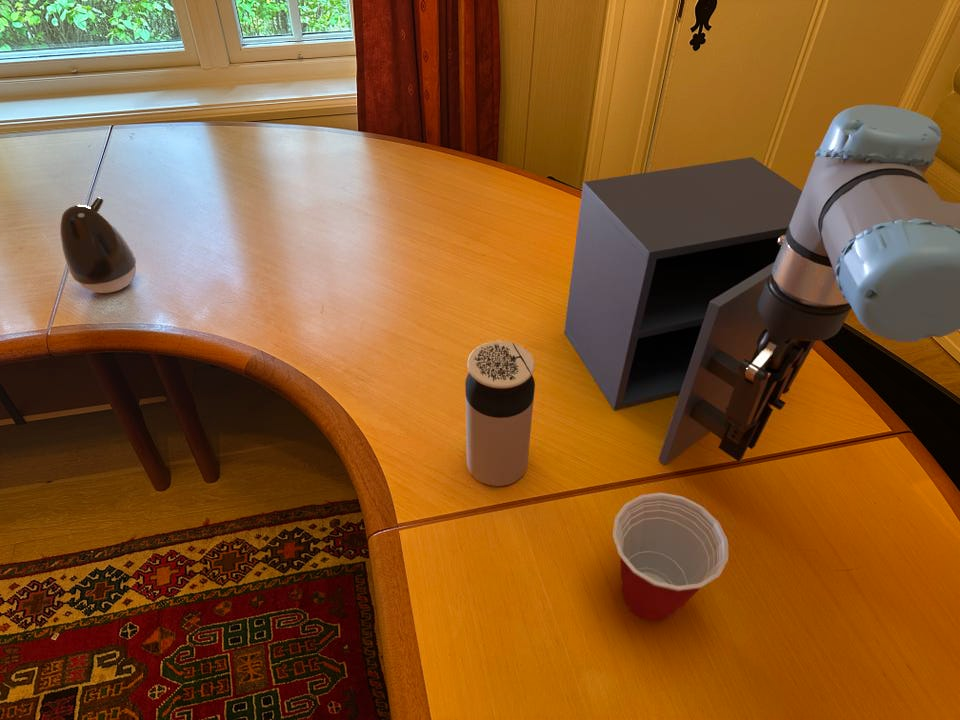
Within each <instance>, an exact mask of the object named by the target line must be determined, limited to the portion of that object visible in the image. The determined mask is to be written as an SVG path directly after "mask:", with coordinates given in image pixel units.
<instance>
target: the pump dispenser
mask: <svg viewBox="0 0 960 720" xmlns="http://www.w3.org/2000/svg"><path fill="white" fill-rule="evenodd" d="M103 199H104V198H102V197H96V198H95V200H94V201H93V202H92V204H91V205H90V206H87V205H83V204H81V205H80V204H77V205H76V204H75V205H72V206H70V207H68V208H67V209H66V210H64V212H63V213H62V216H61V219H60V224H59V225H60V226H59V231H60V243H61V249H62V254H63V257H64V260H65V263H66V265H67V268H68V271H69V273H70V275H71V277H72V278H73V280H74V281H76V282H78V283H79V284H80V286H82V287H84V288H85V289H87V290H88V291H91V292H94V293H100V294H109V293H113V292H118V291H120V290H122V289H124V288H125V287H127V286H129V284H131V283H132V281H133V280H134V278H135V276H136V271H137V265H136V264H137V258H136V256H135V253H134V252H133V250H132V248H131V247H130V245H129V244H128V242H127V241H126V240H125V238H124V237H123V236H122V234H121V233H120V232H119V230H118V229H117V228H116V227H115V226H114V225H113V224H112V223H111V222H110V221H109V220H108V219H107V218H106V217H105V216H104V215H102V214H101V213H100V209H101V208H102V205H103V204H104V200H103Z"/></svg>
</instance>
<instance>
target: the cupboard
mask: <svg viewBox="0 0 960 720" xmlns="http://www.w3.org/2000/svg"><path fill="white" fill-rule="evenodd" d="M802 191H803V189H800V188H799V187H797V186H796V185H795V184H793V183H791V182H790V181H789V180H787V179H786V178H784V177H783V176H782V175H779V174H778V173H777V172H775V171H774V170H772V169H771V168H769V167H768V166H766V165H765V164H763V163H762V162H760V161H759V160H758V159H756V158H754V157H753V156H749V157H744V158H743V157H742V158H736V159H729V160H722V161H717V162H709V163H702V164H696V165H688V166H681V167H676V168H675V167H674V168H669V169H661V170H654V171H648V172H641V173H634V174H627V175H620V176H615V177H607V178H600V179H599V178H598V179H594V180H593V179H592V180H587V181H583V183H582V190H581V198H580V205H579V211H578V212H579V213H578V221H577V227H576V228H577V229H576V237H575V245H574V253H573V260H572V266H571V268H572V269H571V275H570V276H571V277H570V283H569V291H568V299H567V307H566V315H565V322H564V323H565V324H564V332H563V333H564V335H565V336H566V338H567V339H568V341H569V342H570V344H571V346H572V347H573V349H574V350H575V352H576V354H577V355H578V357H579V359H581V361H582V363H583V364H584V366H585V368H586V369H587V371H588V373H589V374H590V375H591V377H592V378H593V380H594V382H595V383H596V385H597V386H598V388H599V390H600V391H601V393H602V394H603V396H604V397H605V399H606V401H607V402H608V404H609V405H610V407H611V408H612V410H613V411H617V410H622V409H625V408H626V409H627V408H630V407H634V406H638V405H642V404H647V403H650V402H655V401H660V400H664V399H666V398H668V399H669V398H671V397H675V396H679V395H680V392H681V389H682V386H683V383H684V380H685V377H686V374H687V371H688V367H689V364H690V361H691V358H692V355H693V352H694V349H695V346H696V343H697V340H698V337H699V334H700V331H701V328H702V325H703V322H704V319H705V316H706V313H707V309H708V306H709V303H710V301H711V300H713V299H715V298H716V297H718V296H720V295H721V294H723V293H724V292H726V291H728V290H729V289H731V288H733V287H734V286H736V285H738V284H739V283H741V282H742V281H744V280H746V279H747V278H749V277H751V276H752V275H754V274H756V273H757V272H759V271H760V270H762V269H764V268H765V267H767V266H769V265H770V264H772V263H773V262H775V260H776V258H777V255H778V253H779V251H780V249H781V245H779V244H778V242H777V241H778V238H780V237H781V236H782V235H786V232H787V230H788V227H789V224H790V222H791V219H792V217H793V214H794V212H795V209H796V207H797V204H798V201H799V199H800V196H801V194H802Z"/></svg>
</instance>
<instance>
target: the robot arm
mask: <svg viewBox="0 0 960 720" xmlns="http://www.w3.org/2000/svg"><path fill="white" fill-rule="evenodd" d="M941 140H942V130H941V128H940V126H939V125H938V124H937V123H936V122H935V121H934V120H932V119H931V118H929V117H928V116H926V115H924V114H921V113H920V112H916V111H913V110H910V109H906V108H903V107H897V106H894V105H893V106H891V105H882V104H861V105H855V106H851V107H848V108H846V109H844V110H842V111H840V112H839V113H838V114H837V115H835V117H834V118H833V120H832V121H831V122H830V125H829V127H828V130H827V131H826V134H825V135H824V137H823V140H822V142H821V144H820V146H819V147H818V149H817V150H816V151H815V153H814V157H815V158H814V160H813V162H812V166H811V168H810V171H809V174H808V176H807V179H806V181H805V184H804V187H803V189H802V194H801V196H800V199H799V201H798V204H797V207H796V209H795V212H794V214H793V217H792V219H791V222H790V224H789V227H788V230H787V232H786V235H782V236H781V237H780V238H778V241H777V242H778V244H779V245H781V249H780V251H779V253H778V255H777V258H776V260H775V263H774V265H773V268H772V273H771V274H770V275H769V277H768V279H767V281H766V284H765V286H764V289H763V291H762V294H761V296H760V299H759V301H758V313H759V315H760V317H761V318H762V320H763V321H764V323H765V325H766V327H767V329H764V330H763V331H762V333H761V334H760V336H759V338H758V341H757V349H756V351H755V353H754V355H753V357H752V359H751V361H749V360H746V359H744V360H743V361H741V362H740V364H739V367H738V377H737V380H736V383H735V386H734V389H733V392H732V395H731V398H730V401H729V404H728V407H727V408H726V409H725V411H726V413H725V416H724V419H725V420H727V421H729V424H728V427H727V429H726V431H725V434H724V436H723V438H722V440H721V439H720V443H719V445H718V449H719V450H721V451H722V452H723V453H725V454H727V455H728V456H730V457H731V458H732V459H734V460H735V461H737V462H738V463H739V462H740V461H742V459H743V458H744V456H745V453H746V451H747V449H748V448H749V449H750V450H752V449H754V448H755V447H756V445H757V443H758V441H759V439H760V437H761V435H762V433H763V431H764V429H765V427H766V425H767V423H768V422H769V419H770V417H771V415H772V413H773V411H774V408H775V409H777V410H779V411H781V410H782V409H783V407H785V405H786V403H787V402H785V401H784V400H782V399H781V397H782V395H786V394H787V393H788V392H789V391H790V388H791V386H792V385H793V383H794V381H795V379H796V377H797V375H798V374H799V371H801V368H802V366H803V365H804V363H805V361H806V359H807V358H808V356H809V355H810V352H811V350H812V348H813V347H814V345H815V343H816V342H820V341H826V340H828V339H831V338H832V337H835V335H837V334H838V333H839V332H840V330H841V329H842V327H843V325H844V323H845V322H846V319H847V317H848V316H849V314H850V312H851V310H852V311H853V313H854V314H855V316H856V318H857V320H858V322H859V323H860V324H861V326H863V328H865V329H866V330H867V331H868V332H870V333H873V334H874V335H875V336H878V337H880V338H883V339H886V340H888V341H893V342H899V343H917V342H920V341H921V340H922V339H927V338H931V337H932V338H933V337H935V338H943V337H946V336H948V335H949V336H950V335H951V334H953V333H956V332H957V331H959V330H960V202H950V201H945V200H942V199H941V198H940V196H939V195H938V193H936V191H935V190H934V189H933V187H932V186H931V185H930V183H929V182H928V180H927V179H926V178H925V173H926V172H927V170H928V169H929V167H930V166H931V167H932V165H933V164H934V163H935V159H934V158H935V156H936V153H937V151H938V148H939V145H940V143H941Z"/></svg>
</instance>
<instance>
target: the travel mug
mask: <svg viewBox="0 0 960 720" xmlns="http://www.w3.org/2000/svg"><path fill="white" fill-rule="evenodd" d="M535 364H536V363H535V360H534V357H533V355H532V354H531V352H530V351H529V350H528V349H527V348H525V347H523V346H522V345H520V344H518V343H515V342H512V341H507V340H494V341H493V340H492V341H488V342H485V343H482V344H480V345H478V346H477V347H475V348H473V350H472V351H471V352H470V354H469V356H468V358H467V361H466V366H467V370H468V373H467V375H466V377H465V381H464V385H465V386H464V387H465V389H464V391H465V435H466V436H465V440H466V441H465V442H466V443H465V445H466V446H465V447H466V449H465V450H466V467H467V469H468V471H469V473H470V474H471V475H472V477H473V478H475V480H477V481H479V482H480V483H481V484H484V485H487V486H492V487H503V486H508V485H511V484H514V483H516V482H518V480H519V479H521V478H522V477H523V476H524V474H525V473H526V471H527V469H528V465H529V464H528V462H529V452H530V444H531V443H530V442H531V431H532V423H533V422H532V420H533V411H534V399H535V389H536V388H535V387H536V382H535V379H534V376H533V374H534V371H535V366H536V365H535Z"/></svg>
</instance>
